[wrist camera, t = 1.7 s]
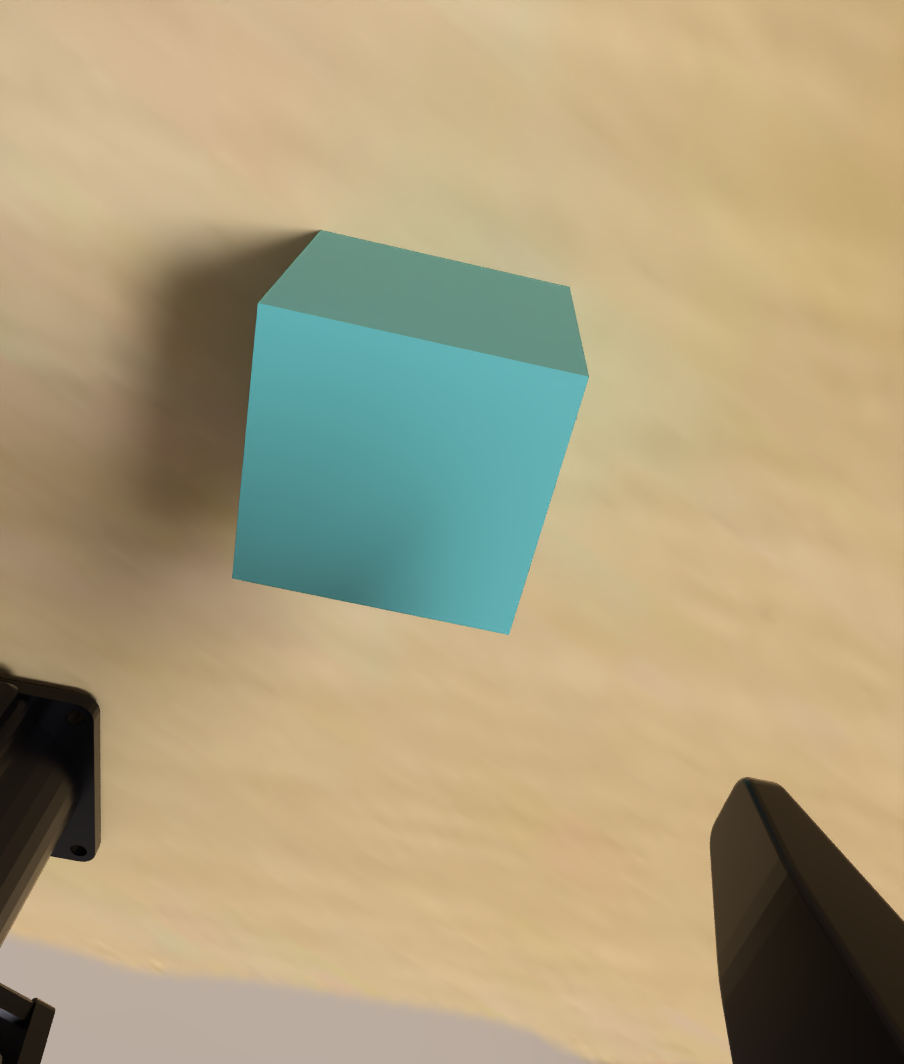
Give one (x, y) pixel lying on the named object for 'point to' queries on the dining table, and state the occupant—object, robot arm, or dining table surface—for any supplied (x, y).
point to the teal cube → (405, 430)
